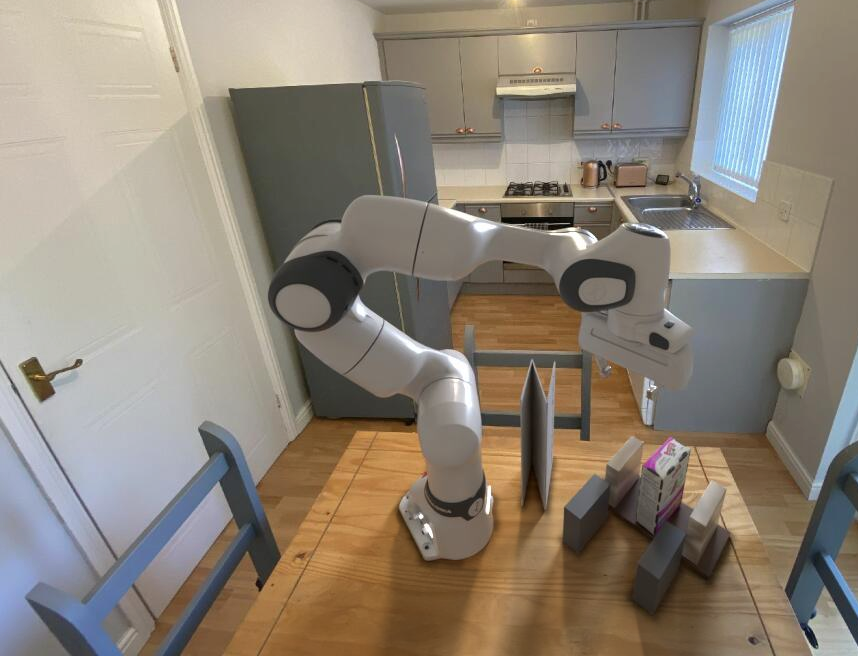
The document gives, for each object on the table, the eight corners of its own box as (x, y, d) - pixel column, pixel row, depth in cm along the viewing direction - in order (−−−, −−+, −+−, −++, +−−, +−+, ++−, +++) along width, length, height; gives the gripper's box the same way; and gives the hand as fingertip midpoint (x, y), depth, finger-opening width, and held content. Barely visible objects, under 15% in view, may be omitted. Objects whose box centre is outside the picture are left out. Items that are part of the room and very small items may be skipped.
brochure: (545, 510, 94) (547, 403, 82) (521, 506, 95) (520, 399, 83) (552, 460, 106) (555, 361, 95) (531, 457, 107) (531, 359, 96)
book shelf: (592, 498, 96) (595, 458, 91) (619, 467, 104) (623, 429, 99) (708, 581, 79) (719, 537, 75) (729, 536, 87) (741, 494, 83)
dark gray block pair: (562, 540, 87) (563, 506, 83) (592, 505, 94) (594, 473, 91) (652, 615, 74) (659, 579, 70) (678, 568, 82) (686, 533, 78)
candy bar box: (661, 490, 96) (670, 435, 90) (681, 504, 93) (692, 448, 87) (633, 520, 90) (641, 463, 83) (654, 537, 86) (664, 479, 80)
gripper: (572, 306, 74) (570, 370, 80) (686, 349, 61) (674, 422, 67) (592, 294, 79) (588, 356, 84) (703, 332, 66) (690, 402, 71)
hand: (627, 386), depth 75 cm, fingers open, 8 cm apart
